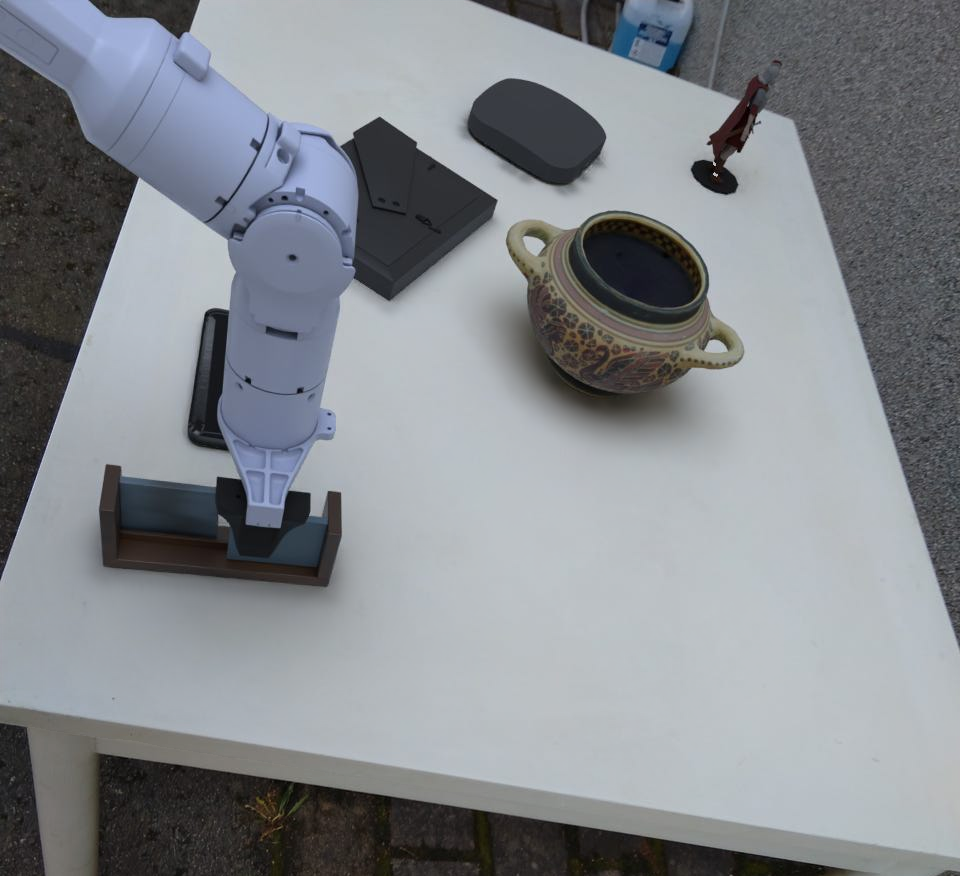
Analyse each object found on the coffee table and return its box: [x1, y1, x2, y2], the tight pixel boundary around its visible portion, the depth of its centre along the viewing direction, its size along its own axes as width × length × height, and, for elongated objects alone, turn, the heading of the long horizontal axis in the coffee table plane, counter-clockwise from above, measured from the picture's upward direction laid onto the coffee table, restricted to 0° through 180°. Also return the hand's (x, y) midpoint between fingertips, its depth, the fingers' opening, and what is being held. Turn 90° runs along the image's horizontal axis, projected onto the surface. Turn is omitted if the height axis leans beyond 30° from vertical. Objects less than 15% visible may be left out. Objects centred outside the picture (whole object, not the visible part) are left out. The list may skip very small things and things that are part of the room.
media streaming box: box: [467, 77, 607, 184], centre depth 111 cm, size 15×15×3 cm
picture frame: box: [339, 116, 499, 301], centre depth 95 cm, size 16×3×21 cm
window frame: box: [98, 463, 343, 587], centre depth 67 cm, size 16×4×6 cm, turn 95°
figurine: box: [690, 59, 783, 196], centre depth 114 cm, size 7×7×15 cm
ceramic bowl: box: [505, 209, 745, 398], centre depth 88 cm, size 24×18×15 cm
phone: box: [187, 307, 229, 451], centre depth 78 cm, size 8×1×15 cm
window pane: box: [227, 515, 328, 567], centre depth 66 cm, size 7×1×8 cm, turn 95°
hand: (256, 507), depth 64 cm, fingers open, 7 cm apart
